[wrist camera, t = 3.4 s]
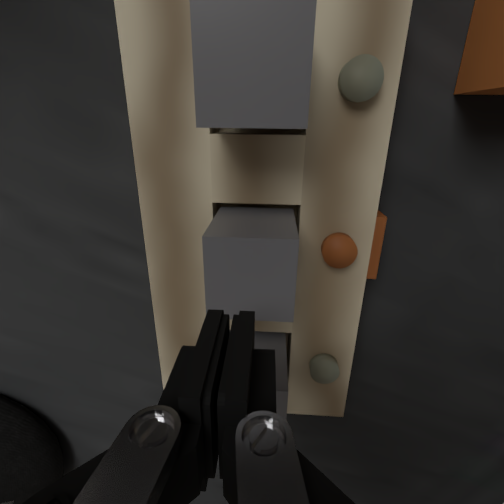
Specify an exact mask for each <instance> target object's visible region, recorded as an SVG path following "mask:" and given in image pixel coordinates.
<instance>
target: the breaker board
mask: <svg viewBox="0 0 504 504" xmlns="http://www.w3.org/2000/svg"><path fill="white" fill-rule="evenodd" d="M412 2H413V0H317V4H316V18H315V31H314V45H313V59H312V73H311V87H310V100H309V114H308V128H307V129H268V128H196V115H195V96H194V77H193V58H192V39H191V20H190V1H189V0H114V4H115V12H116V20H117V28H118V36H119V43H120V51H121V59H122V67H123V75H124V83H125V91H126V98H127V106H128V114H129V122H130V130H131V138H132V146H133V154H134V161H135V169H136V177H137V185H138V193H139V201H140V209H141V216H142V224H143V232H144V240H145V248H146V256H147V264H148V271H149V279H150V287H151V295H152V303H153V311H154V319H155V326H156V334H157V342H158V350H159V358H160V366H161V374H162V382H163V389H164V388H165V386H166V383H167V381H168V378H169V376H170V373H171V371H172V369H173V366H174V364H175V361H176V359H177V356H178V354H179V351H180V349H181V347H182V346H183V345H185V346H196V343H197V340H198V337H199V334H200V331H201V328H202V325H203V322H204V319H205V317H206V304H205V285H204V266H203V247H202V236H203V234H204V232H205V231H206V229H207V228H208V226H209V225H210V223H211V221H212V220H213V218H214V217H215V215H216V214H217V212H218V210H219V209H220V207H258V208H293V211H294V216H295V221H296V226H297V230H298V235H299V252H298V266H297V280H296V293H295V307H294V321H293V322H276V321H255V331H263V332H283V333H285V334H286V354H287V375H288V404H287V413H290V414H306V415H321V416H336V417H343V415H344V409H345V403H346V397H347V391H348V385H349V379H350V373H351V367H352V361H353V355H354V349H355V343H356V337H357V331H358V325H359V319H360V313H361V307H362V301H363V295H364V289H365V283H366V279H376V276H377V271H378V265H379V259H380V254H381V248H382V243H383V237H384V232H385V226H386V221H387V217H386V216H385V215H384V214H382V213H381V212H380V211H379V210H378V205H379V199H380V193H381V187H382V181H383V175H384V169H385V163H386V157H387V151H388V145H389V139H390V133H391V127H392V121H393V115H394V109H395V103H396V98H397V92H398V86H399V80H400V74H401V68H402V62H403V56H404V50H405V44H406V38H407V32H408V26H409V20H410V14H411V8H412ZM232 320H233V319H230V330H231V325H232Z"/></svg>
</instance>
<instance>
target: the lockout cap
mask: <svg viewBox="0 0 504 504" xmlns="http://www.w3.org/2000/svg"><path fill="white" fill-rule="evenodd" d="M454 95H504V0H475V3H474V8H473V12H472V17H471V21H470V25H469V30H468V34H467V38H466V43H465V47H464V52H463V56H462V60H461V65H460V69H459V73H458V78H457V82H456V87H455V91H454Z"/></svg>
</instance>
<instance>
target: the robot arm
mask: <svg viewBox="0 0 504 504" xmlns="http://www.w3.org/2000/svg"><path fill="white" fill-rule="evenodd" d="M254 337H255V311H240V312H239V315H236V314H234V315H233V320H232V325H231V330H230V317H229V314H224V310H212V309H208V311H207V314H206V317H205V319H204V322H203V325H202V328H201V331H200V334H199V337H198V340H197V343H196V346H185V345H183V346H182V347H181V349H180V351H179V354H178V356H177V359H176V361H175V364H174V366H173V369H172V371H171V373H170V376H169V378H168V381H167V383H166V386H165V388H164V391H163V393H162V396H161V398H160V401H159V403H158V405H154V406H149V407H146V408H144V409H142V410H140V411H138V412H137V413H136V414H134V415H133V416H132V417H131V418H130V419H129V420H128V421H127V423H126V424H125V426H124V427H123V429H122V430H121V432H120V433H119V435H118V436H117V438H116V439H115V441H114V442H113V444H112V445H111V447H110V448H109V449H108V450H106V451H104V452H103V453H101V454H100V455H98V456H96V457H95V458H93V459H91V460H90V461H88V462H86V463H85V464H83V465H81V466H80V467H78V468H77V469H75V470H73V471H72V472H70V473H68V474H67V475H65V476H63V477H62V478H60V479H59V480H57V481H55V482H54V483H52V484H50V485H49V486H47V487H45V488H44V489H42V490H40V491H39V492H37V493H36V494H34V495H33V496H31V497H30V498H29V499H27V500H26V501H25V502H23V503H22V504H189V503H190V502H191V501H192V500H194V499H195V498H196V497H197V496H198V495H200V491H206V487H207V481H208V478H215V473H216V467H217V461H218V455H219V470H220V479H223V496H224V497H225V499H226V500H227V501H228V503H229V504H355V503H354V502H353V501H352V500H351V499H349V498H348V497H347V496H346V495H345V494H344V493H343V492H342V491H341V490H340V489H339V488H338V487H337V486H336V485H334V484H333V483H332V482H331V481H330V480H329V479H328V478H327V477H326V476H325V475H324V474H323V473H322V472H320V471H319V470H318V469H317V468H316V467H315V466H314V465H313V464H312V463H311V462H310V461H309V460H308V459H307V458H305V457H304V456H303V455H302V454H301V453H300V452H299V451H298V450H297V449H296V445H295V441H294V437H293V433H292V430H291V428H290V425H289V424H288V423H287V421H286V420H285V419H284V418H283V417H281V416H280V415H278V414H277V412H276V364H275V350H274V349H254ZM0 504H15V502H14V501H10V502H4V503H0Z"/></svg>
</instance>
